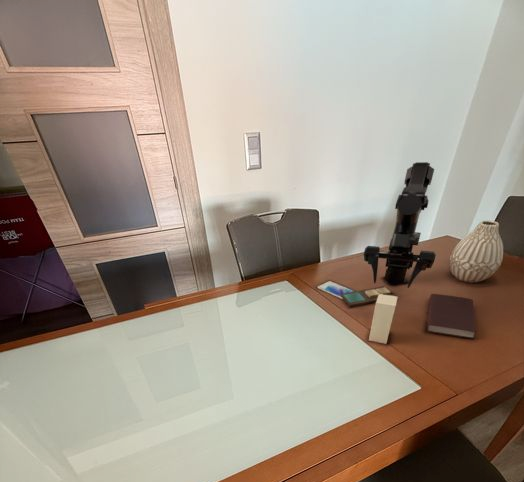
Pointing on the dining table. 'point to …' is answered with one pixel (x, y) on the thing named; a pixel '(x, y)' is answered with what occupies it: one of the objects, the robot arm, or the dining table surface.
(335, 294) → the smartphone
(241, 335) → the dining table surface
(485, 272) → the vase
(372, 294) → the word board
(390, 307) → the letter I
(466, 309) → the book
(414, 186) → the robot arm
